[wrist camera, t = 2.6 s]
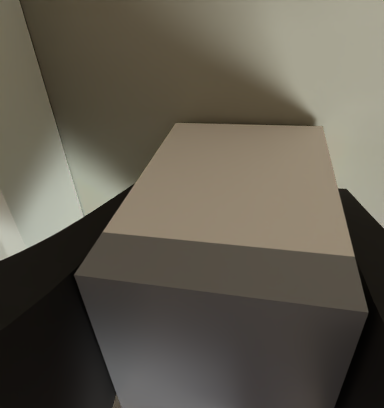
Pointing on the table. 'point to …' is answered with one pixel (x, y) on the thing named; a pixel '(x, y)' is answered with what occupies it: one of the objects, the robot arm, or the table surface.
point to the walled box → (29, 146)
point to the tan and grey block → (228, 274)
